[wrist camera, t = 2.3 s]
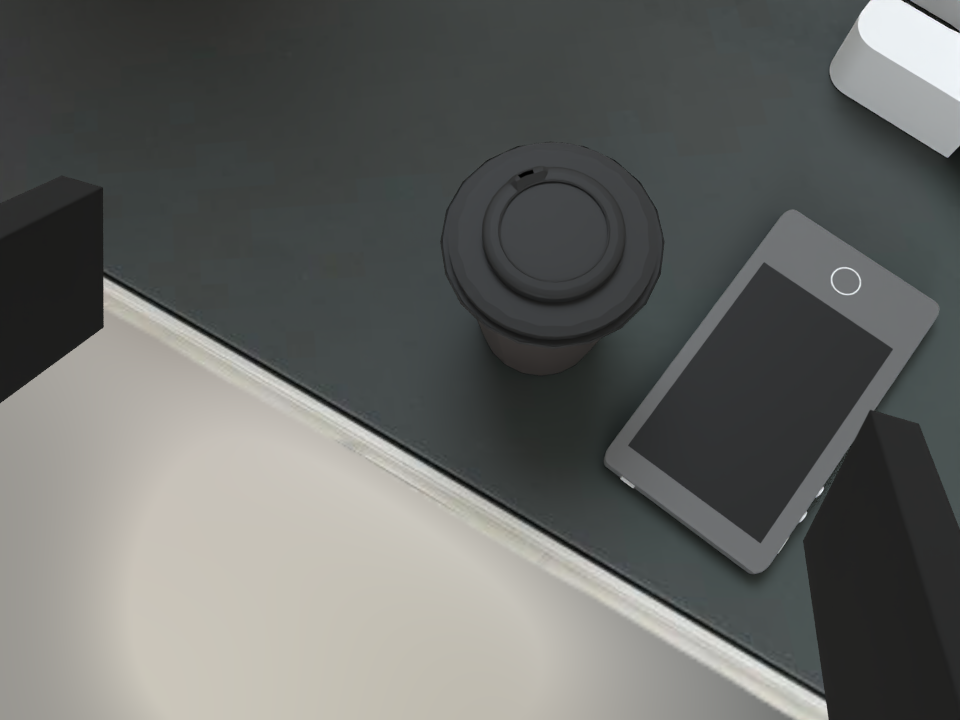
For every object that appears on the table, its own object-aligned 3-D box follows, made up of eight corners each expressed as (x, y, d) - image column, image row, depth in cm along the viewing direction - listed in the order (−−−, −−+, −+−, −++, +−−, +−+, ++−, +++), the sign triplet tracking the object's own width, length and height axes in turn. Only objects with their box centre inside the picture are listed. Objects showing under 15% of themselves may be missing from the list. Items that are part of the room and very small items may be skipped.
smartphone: (756, 582, 38) (761, 581, 37) (596, 463, 39) (598, 460, 39) (939, 313, 41) (946, 308, 40) (784, 211, 42) (789, 205, 42)
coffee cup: (519, 205, 43) (527, 85, 33) (663, 300, 41) (715, 204, 32) (415, 337, 41) (391, 251, 31) (562, 441, 40) (584, 384, 30)
